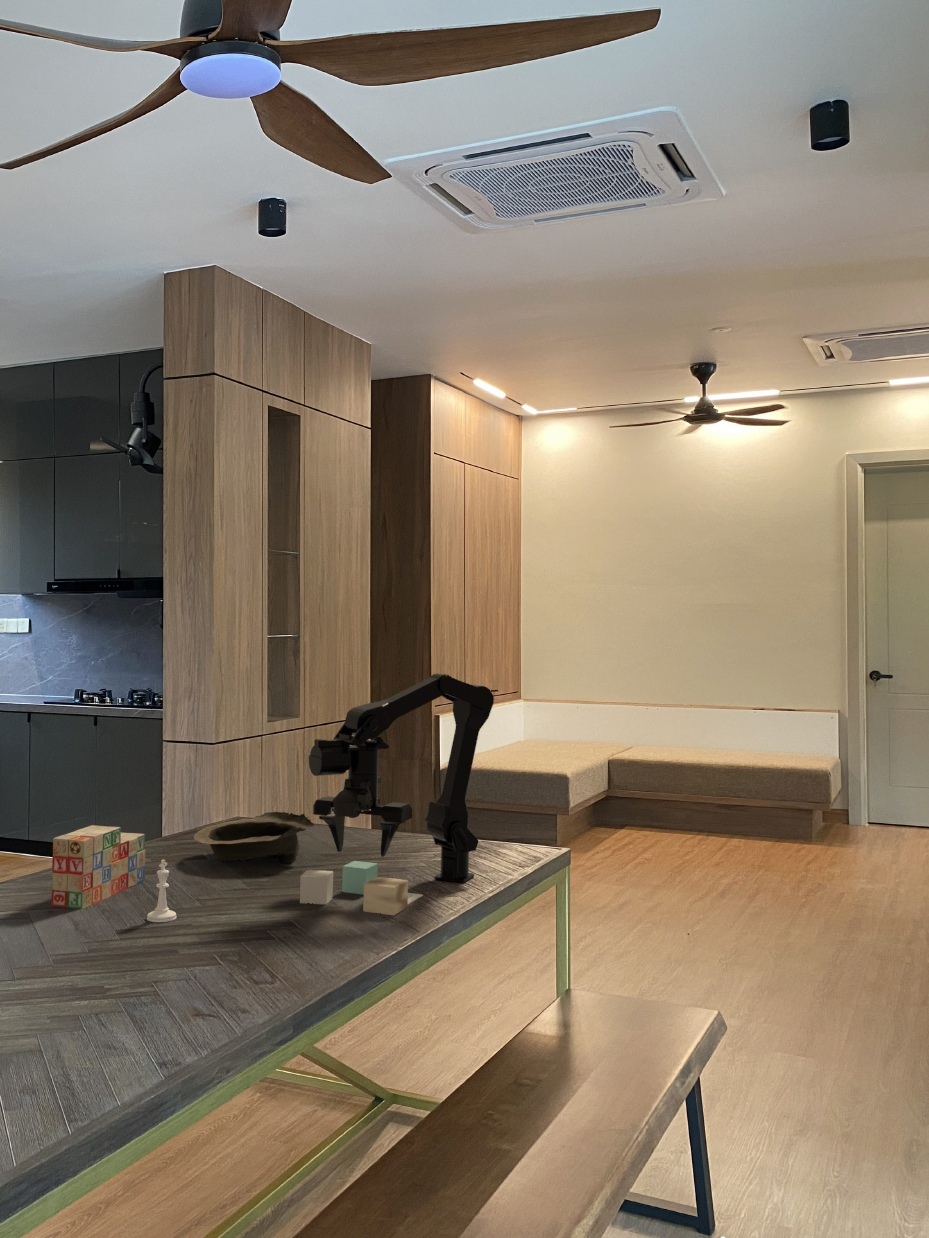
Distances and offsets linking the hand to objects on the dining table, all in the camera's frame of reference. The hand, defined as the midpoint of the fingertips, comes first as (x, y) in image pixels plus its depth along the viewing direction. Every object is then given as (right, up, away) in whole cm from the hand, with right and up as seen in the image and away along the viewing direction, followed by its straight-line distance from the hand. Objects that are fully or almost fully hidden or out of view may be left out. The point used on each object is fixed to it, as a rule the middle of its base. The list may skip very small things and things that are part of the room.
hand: (361, 853), depth 205 cm
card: (+7, -7, -5) cm, 11 cm away
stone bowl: (-26, -7, +23) cm, 35 cm away
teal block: (0, -7, 0) cm, 7 cm away
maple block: (+6, -7, -13) cm, 16 cm away
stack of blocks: (-48, -6, -7) cm, 49 cm away
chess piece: (-32, -6, -22) cm, 40 cm away
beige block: (-8, -7, -8) cm, 13 cm away
